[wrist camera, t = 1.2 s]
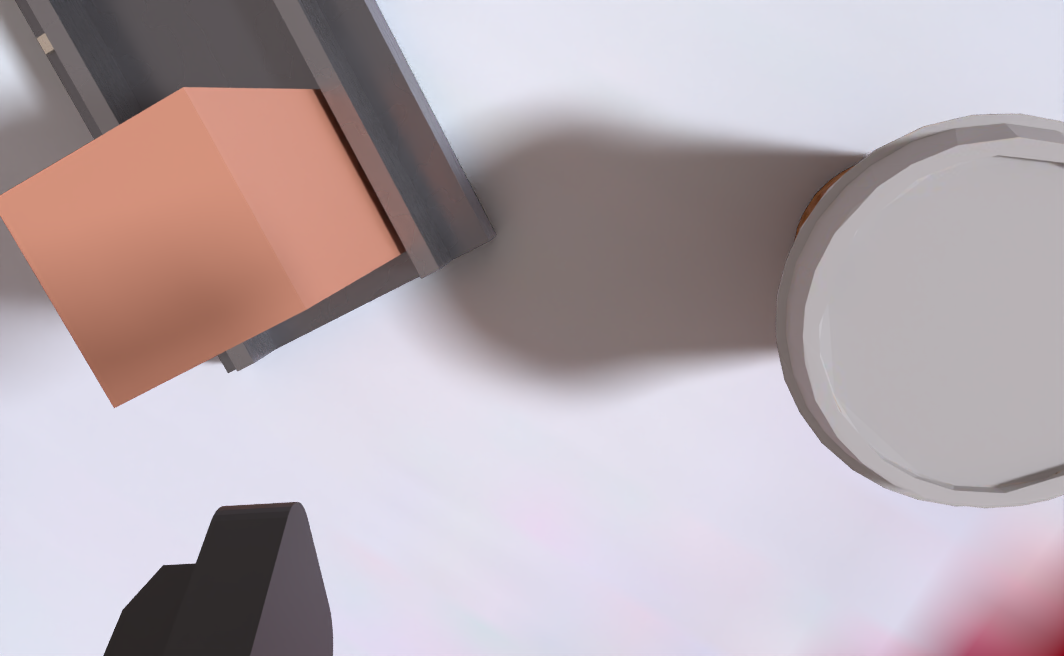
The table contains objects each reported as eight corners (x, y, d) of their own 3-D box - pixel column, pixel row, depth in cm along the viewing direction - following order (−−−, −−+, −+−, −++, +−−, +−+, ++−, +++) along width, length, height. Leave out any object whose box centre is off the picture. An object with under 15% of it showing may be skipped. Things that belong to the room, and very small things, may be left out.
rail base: (496, 235, 36) (468, 257, 31) (244, 362, 38) (183, 401, 34) (257, -229, 34) (187, -283, 29) (4, -61, 36) (-100, -85, 31)
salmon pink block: (409, 249, 34) (306, 309, 25) (265, 323, 36) (114, 408, 26) (324, 89, 34) (183, 87, 24) (179, 171, 35) (-9, 200, 25)
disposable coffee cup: (910, 45, 33) (1041, 18, 21) (1097, 261, 33) (1323, 350, 22) (687, 240, 35) (694, 313, 23) (866, 438, 36) (958, 603, 24)
